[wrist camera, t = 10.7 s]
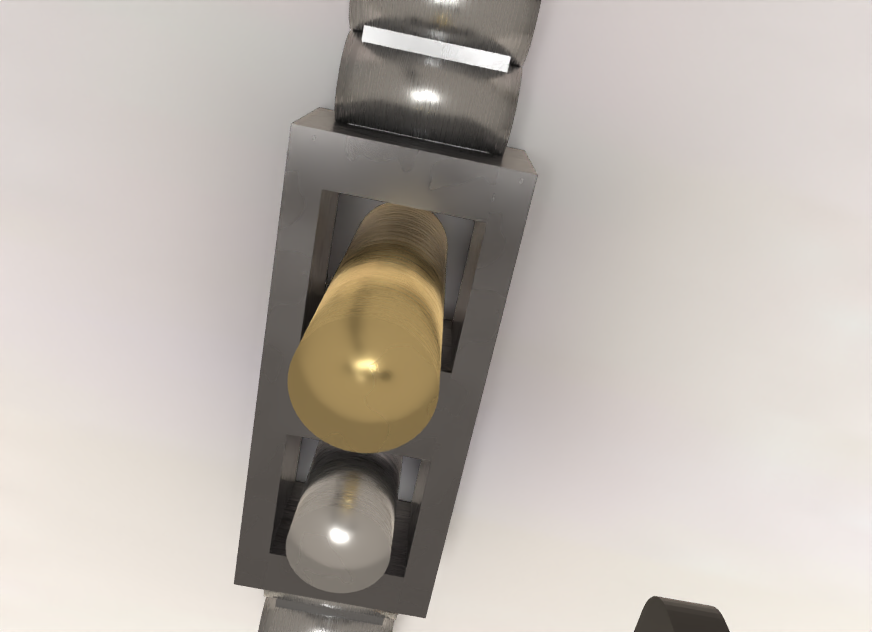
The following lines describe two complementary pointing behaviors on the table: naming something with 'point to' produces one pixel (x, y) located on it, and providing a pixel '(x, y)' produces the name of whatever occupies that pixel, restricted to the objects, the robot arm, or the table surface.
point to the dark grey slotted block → (462, 338)
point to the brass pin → (376, 336)
